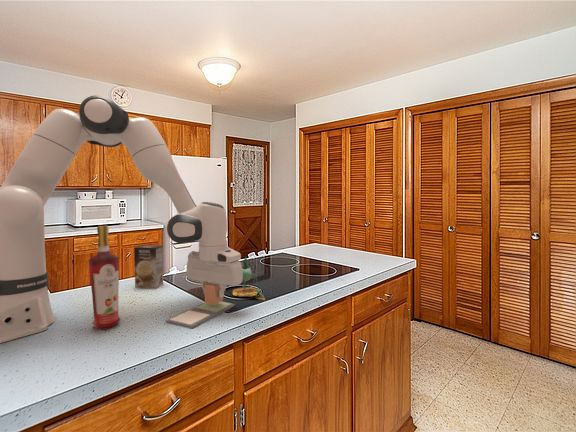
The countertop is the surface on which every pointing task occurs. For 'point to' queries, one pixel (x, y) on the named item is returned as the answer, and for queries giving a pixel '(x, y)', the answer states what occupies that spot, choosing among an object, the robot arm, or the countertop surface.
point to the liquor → (104, 283)
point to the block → (212, 293)
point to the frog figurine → (248, 291)
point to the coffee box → (148, 266)
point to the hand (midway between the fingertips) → (213, 295)
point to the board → (199, 314)
